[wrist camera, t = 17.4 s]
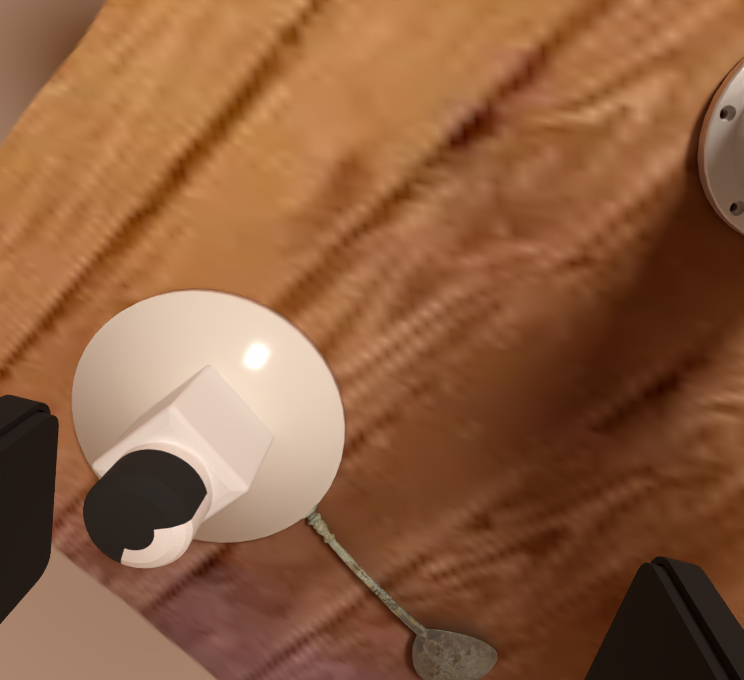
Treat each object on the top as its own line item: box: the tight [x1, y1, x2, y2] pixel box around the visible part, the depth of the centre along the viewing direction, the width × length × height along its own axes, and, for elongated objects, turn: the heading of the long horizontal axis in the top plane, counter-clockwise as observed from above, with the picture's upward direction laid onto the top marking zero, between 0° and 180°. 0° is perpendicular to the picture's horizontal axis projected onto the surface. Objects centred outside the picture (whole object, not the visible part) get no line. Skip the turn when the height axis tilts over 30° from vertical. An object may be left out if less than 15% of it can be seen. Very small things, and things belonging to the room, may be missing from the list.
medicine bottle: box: [83, 365, 274, 568], centre depth 36 cm, size 7×7×12 cm
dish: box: [72, 288, 346, 543], centre depth 42 cm, size 20×20×1 cm
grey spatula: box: [300, 504, 498, 680], centre depth 46 cm, size 22×3×7 cm
